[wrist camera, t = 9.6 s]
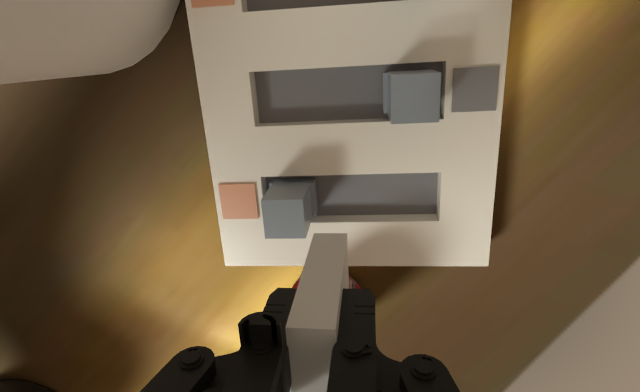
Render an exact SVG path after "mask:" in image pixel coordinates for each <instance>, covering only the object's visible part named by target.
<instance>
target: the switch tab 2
mask: <svg viewBox="0 0 640 392" xmlns="http://www.w3.org/2000/svg"><path fill="white" fill-rule="evenodd" d="M440 92H441V72H438V71H435V70H432V69H429V70H411V71H392V72H383V113H388V117H389V120H390V123H391V124H408V123H434V122H439V117H440Z"/></svg>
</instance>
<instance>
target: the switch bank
mask: <svg viewBox="0 0 640 392" xmlns="http://www.w3.org/2000/svg"><path fill="white" fill-rule="evenodd" d="M185 4H186V10H187V17H188V24H189V30H190V37H191V43H192V50H193V56H194V63H195V70H196V76H197V83H198V89H199V96H200V103H201V109H202V116H203V122H204V129H205V135H206V142H207V149H208V155H209V162H210V168H211V175H212V181H213V188H214V195H215V201H216V208H217V214H218V221H219V227H220V234H221V241H222V247H223V254H224V260H225V266H304V264H305V261H306V257H307V254H308V251H309V248H310V244H311V241H312V238H313V234H314V233H347V239H348V266H488V263H489V252H490V241H491V230H492V219H493V208H494V197H495V186H496V175H497V164H498V153H499V142H500V130H501V119H502V108H503V97H504V86H505V75H506V64H507V53H508V42H509V31H510V20H511V9H512V0H185ZM429 69H432V70H435V71H438V72H441V92H440V117H439V122H434V123H408V124H391V123H390V120H389V117H388V113H383V72H392V71H411V70H429ZM312 178H316V192H317V207H318V211H317V214H316V216H312V220H311V223H310V227H309V230H308V233H307V236H306V238H300V239H265V234H264V225H263V216H262V207H261V199H262V198H263V196H264V195H265V193H266V192H267V190H268V189H269V184H270V182H271V181H272V179H312Z"/></svg>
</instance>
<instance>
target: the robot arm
mask: <svg viewBox="0 0 640 392" xmlns="http://www.w3.org/2000/svg"><path fill="white" fill-rule="evenodd" d="M238 328H239V335H240V342H241V347H240V350H239V351H237V352H234V353H231V354H227V355H222V356H217V357H214V353H213V352H212V350H211V349H209V348H207V347H202V346H195V347H190V348H187V349H185V350H183V351H180V352H179V353H178V354H177V355H175V356H174V357H173V358H172V359H171V360H170V361H169V362H168V363H167V364H166V365H165V366H164V367H163V368H162V369H161V370H160V371H159V373H158V374H157V375H156V376H155V377H154V378H153V379H152V380H151V381H150V382H149V383H148V384H147V385H146V386H145V387H144V388H143V389H142V390H141V391H140V392H290V388H291V392H460V391H459V389H458V387H457V386H456V384H455V382H454V380H453V379H452V377H451V375H450V373H449V371H448V370H447V368H446V367H445V366H444V364H443V363H442V362H441V361H439V360H438V359H436V358H434V357H432V356H428V355H425V354H415V355H412V356H408V357H407V358H405V359H404V360H403V361H402V362H398V361H395V360H392V359H390V358H388V357H386V356H385V355H383V354H382V353H381V352H380V351H379V350H378V348H377V346H376V333H375V297H374V295H373V294H372V292H371V291H370V289H349V274H348V239H347V233H314V234H313V238H312V241H311V244H310V248H309V251H308V254H307V257H306V261H305V264H304V267H303V271H302V274H301V277H300V281H299V284H298V287H297V288H277V289H276V290H275V291H274V292H273V293H272V294H270V295H269V298H268V300H267V303H266V306H265V308H264V310H263V312H256V313H253V314H250V315H247V316H246V317H244V318H243V319H242V320H241V321H240V322H239V324H238ZM0 392H53V391H51V390H49V389H47V388H45V387H42V386H40V385H37V384H34V383H30V382H26V381H20V380H2V381H0Z"/></svg>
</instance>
